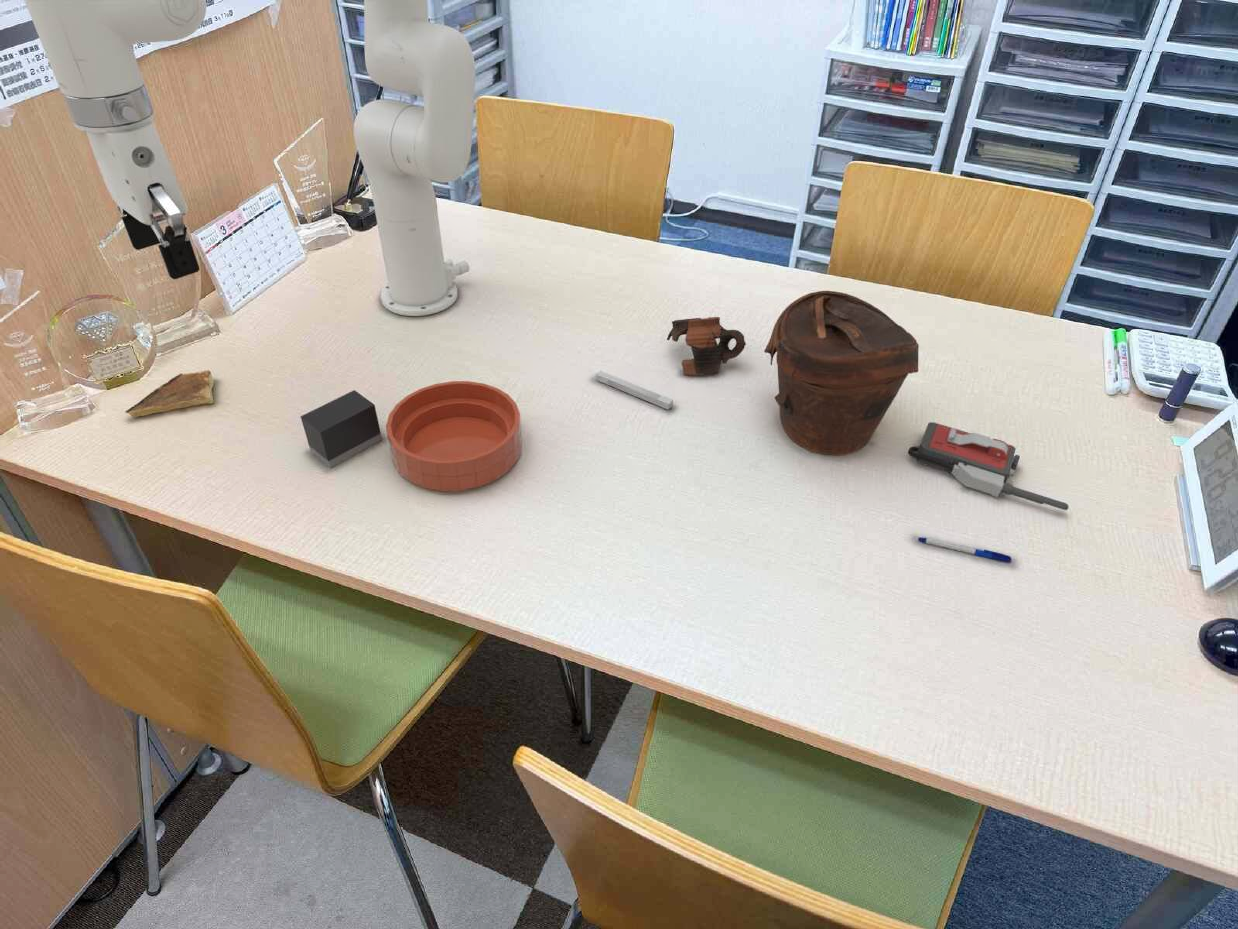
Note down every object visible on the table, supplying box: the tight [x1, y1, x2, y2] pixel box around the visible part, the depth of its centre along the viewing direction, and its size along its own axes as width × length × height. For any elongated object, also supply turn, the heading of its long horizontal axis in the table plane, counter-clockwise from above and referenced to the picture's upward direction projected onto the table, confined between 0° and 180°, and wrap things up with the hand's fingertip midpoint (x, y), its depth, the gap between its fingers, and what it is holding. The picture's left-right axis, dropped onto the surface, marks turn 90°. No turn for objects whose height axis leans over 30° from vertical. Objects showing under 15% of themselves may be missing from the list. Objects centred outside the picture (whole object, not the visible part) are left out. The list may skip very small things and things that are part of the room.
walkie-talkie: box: [907, 421, 1069, 511], centre depth 106 cm, size 9×4×20 cm
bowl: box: [385, 380, 523, 492], centre depth 107 cm, size 17×17×6 cm
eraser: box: [300, 389, 383, 469], centre depth 107 cm, size 8×5×6 cm, turn 137°
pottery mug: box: [666, 316, 747, 376], centre depth 125 cm, size 12×10×8 cm
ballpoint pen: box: [918, 537, 1012, 563], centre depth 97 cm, size 10×1×1 cm, turn 74°
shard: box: [125, 370, 215, 418], centre depth 116 cm, size 11×8×2 cm
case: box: [764, 290, 920, 456], centre depth 109 cm, size 18×20×18 cm
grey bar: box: [596, 370, 674, 411], centre depth 119 cm, size 12×1×1 cm, turn 56°
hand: (166, 259), depth 95 cm, fingers open, 9 cm apart
